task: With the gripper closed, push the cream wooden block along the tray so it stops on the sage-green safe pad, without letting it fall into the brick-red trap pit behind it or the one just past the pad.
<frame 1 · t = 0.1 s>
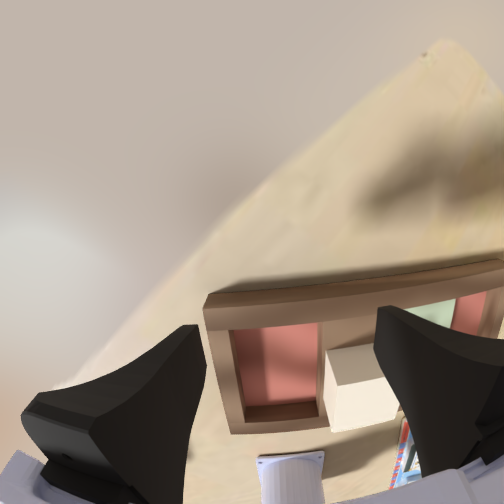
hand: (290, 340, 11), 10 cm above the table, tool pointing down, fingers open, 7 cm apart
puzzle board: (453, 439, 28), on the table
tray: (379, 347, 22), on the table
block: (355, 371, 20), point 2 cm above the table, touching tray
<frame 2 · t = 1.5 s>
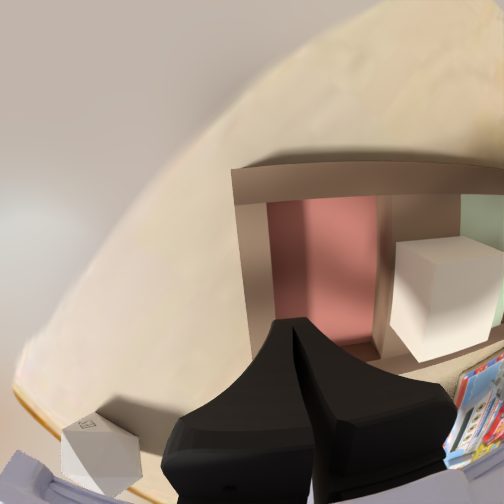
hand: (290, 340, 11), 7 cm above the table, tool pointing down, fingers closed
puzzle board: (496, 411, 22), on the table
tray: (444, 262, 16), on the table
block: (429, 280, 14), point 2 cm above the table, touching tray
die: (114, 429, 22), on the table
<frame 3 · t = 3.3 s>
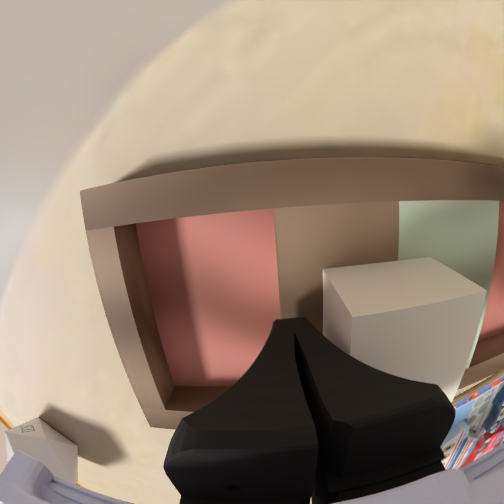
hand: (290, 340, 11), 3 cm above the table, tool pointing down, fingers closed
puzzle board: (475, 442, 20), on the table
tray: (386, 291, 14), on the table
block: (377, 317, 11), point 3 cm above the table, touching gripper
die: (57, 435, 19), on the table
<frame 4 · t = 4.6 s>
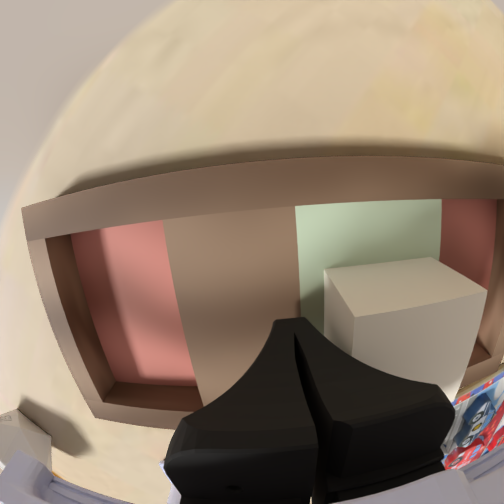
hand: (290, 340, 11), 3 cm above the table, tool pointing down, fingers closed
puzzle board: (452, 453, 20), on the table
tray: (309, 300, 14), on the table
block: (378, 317, 11), point 2 cm above the table, touching tray, gripper
die: (34, 426, 20), on the table
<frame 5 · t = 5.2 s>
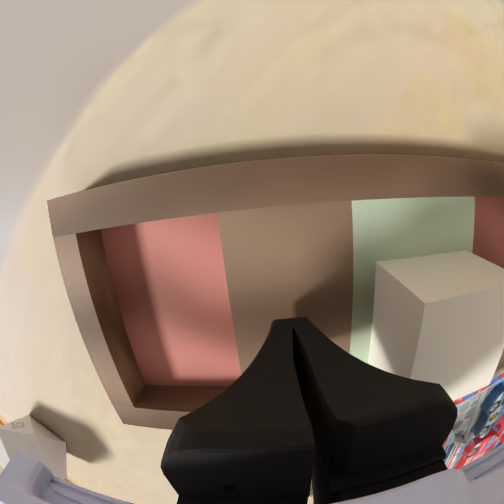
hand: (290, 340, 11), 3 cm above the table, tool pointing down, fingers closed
puzzle board: (466, 446, 20), on the table
tray: (351, 294, 14), on the table
block: (420, 307, 11), point 2 cm above the table, touching tray
die: (47, 432, 19), on the table
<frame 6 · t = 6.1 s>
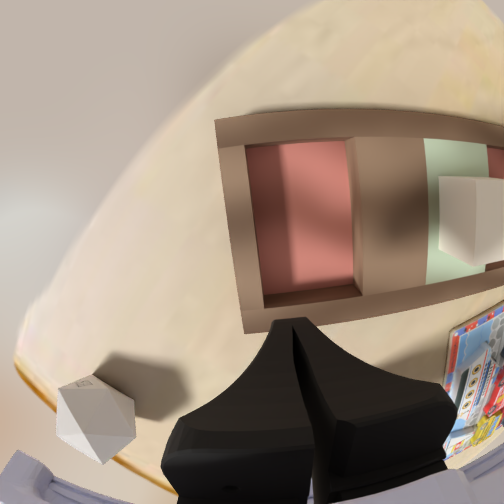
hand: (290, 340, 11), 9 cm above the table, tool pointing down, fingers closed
puzzle board: (495, 381, 24), on the table
tray: (419, 208, 18), on the table
block: (464, 211, 16), point 2 cm above the table, touching tray
die: (110, 393, 24), on the table
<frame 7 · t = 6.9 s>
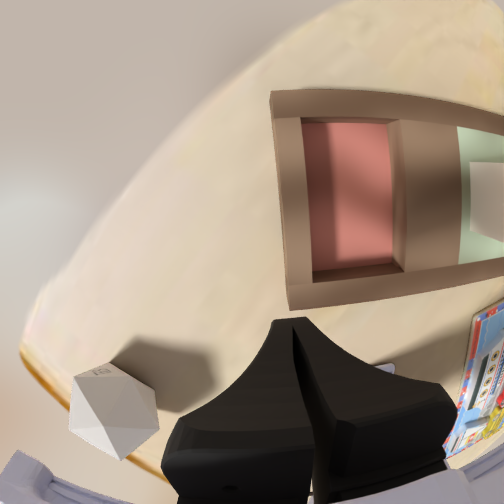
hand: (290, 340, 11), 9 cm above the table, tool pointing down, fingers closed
tray: (449, 193, 18), on the table
block: (490, 196, 15), point 2 cm above the table, touching tray
die: (128, 383, 24), on the table
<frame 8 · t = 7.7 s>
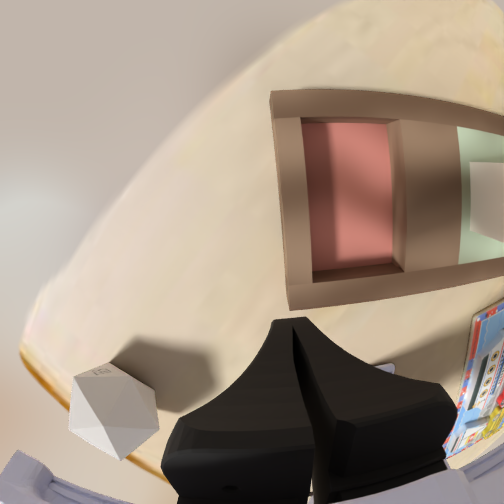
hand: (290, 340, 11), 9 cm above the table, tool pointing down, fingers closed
tray: (449, 193, 18), on the table
block: (490, 196, 15), point 2 cm above the table, touching tray
die: (128, 383, 24), on the table
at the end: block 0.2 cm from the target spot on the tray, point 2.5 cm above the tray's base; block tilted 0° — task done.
